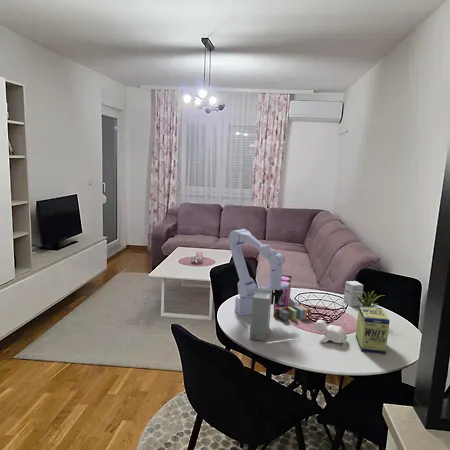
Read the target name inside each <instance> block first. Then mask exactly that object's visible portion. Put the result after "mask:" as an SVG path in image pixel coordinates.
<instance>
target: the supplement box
mask: <svg viewBox="0 0 450 450" xmlns="http://www.w3.org/2000/svg"><path fill="white" fill-rule="evenodd" d="M362 290H363V291H364V284H362V283H360V282H359V281H358V280H357V281H356V280H353V281H352V280H350V281H349V280H348V281H345V285H344V291H343V293H344V295H343V300H342V301H343V303H345V304H346V305H348V306H349V307H359V306H360V305H362V304H361V303H359V302H360V301H356V300H359V299H358V298H357V296H356V295H358V296H359V297H360V295H361V296H362V297H363V294H364V293H363V291H362ZM357 292H358V293H359V294H360V295H359V294H358V293H357ZM360 298H361V297H360ZM361 300H362V301H363V299H362V298H361Z"/></svg>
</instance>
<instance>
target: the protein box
mask: <svg viewBox="0 0 450 450" xmlns="http://www.w3.org/2000/svg"><path fill="white" fill-rule="evenodd" d="M357 311H358V312H357V313H358V314H357V321H356V327H355V328H356V329H355V338H356V339H355V340H356V341H357V344H358V347H359V350H360V352H365V353H372V354H373V353H374V354H383V355H386V351H387V344H388V337H389V329H390V319H389V318H388V316H387V314H386V313H385V310H384V309H383V308H381V307H366V306H358V310H357Z"/></svg>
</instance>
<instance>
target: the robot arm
mask: <svg viewBox="0 0 450 450" xmlns="http://www.w3.org/2000/svg"><path fill="white" fill-rule="evenodd" d="M228 240H229V249H230V252H231V255H232V259H233V263H234V266H235V269H236V272H237V276H238V278H239V281H238V282H237V284H236V285H237V293H238V295H239V296H236V298H235V301H234V311H235V312H236V313H237V314H238V315H239V316H247V315H251V313H252V301H253V296H254V293H255V291H256V289H257V287H258V285H257V283H256V282H255V280H254V279H253V278H252V276H250V273H249V269H248V267H247V264H246V263H247V262H246V260H245V257H244V254H243V251H242V247H243V245H244V244H245V243H248V244H249V245H250V246H252V247H254V248H255V249H257V250H258V253H259V254H260V256H262V257H263V258H265V259H266V260H267V261H268V264H269V268H270V271H269V272H270V273H269V284H268V285H264V286H261V287H260V288H267V289H272V297H271V306H274V303H275V304H278V301H279V299H280V297H281V295H282V294H283V291H282V289H289V286H288V285H287V284H286V285H281V279H282V275H283V266H284V265H283V264H284V263H285V262H286V257H285V255H284V254H283V253H282V252H278V251H277V250H275V249H273V248H272V247H271V245H270V244H267V243H265V244H263V243H262V242H261V241H260V240H258V239H257V238H256V237H255V236H254V235H252V233H251V231H249V230H248V229H246V228H241V229H238V230H237V229H235V230H231V232H230V233H229V235H228ZM274 298H275V299H274Z"/></svg>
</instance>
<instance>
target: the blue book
mask: <svg viewBox="0 0 450 450" xmlns="http://www.w3.org/2000/svg"><path fill="white" fill-rule="evenodd" d="M294 306H295V310H296V311H297V315H296V317H297V318H299V319H300V320H299V321H303V320H302V319H303V318H304V310H303V309H302V308H300V307H299V306H298V305H294Z"/></svg>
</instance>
